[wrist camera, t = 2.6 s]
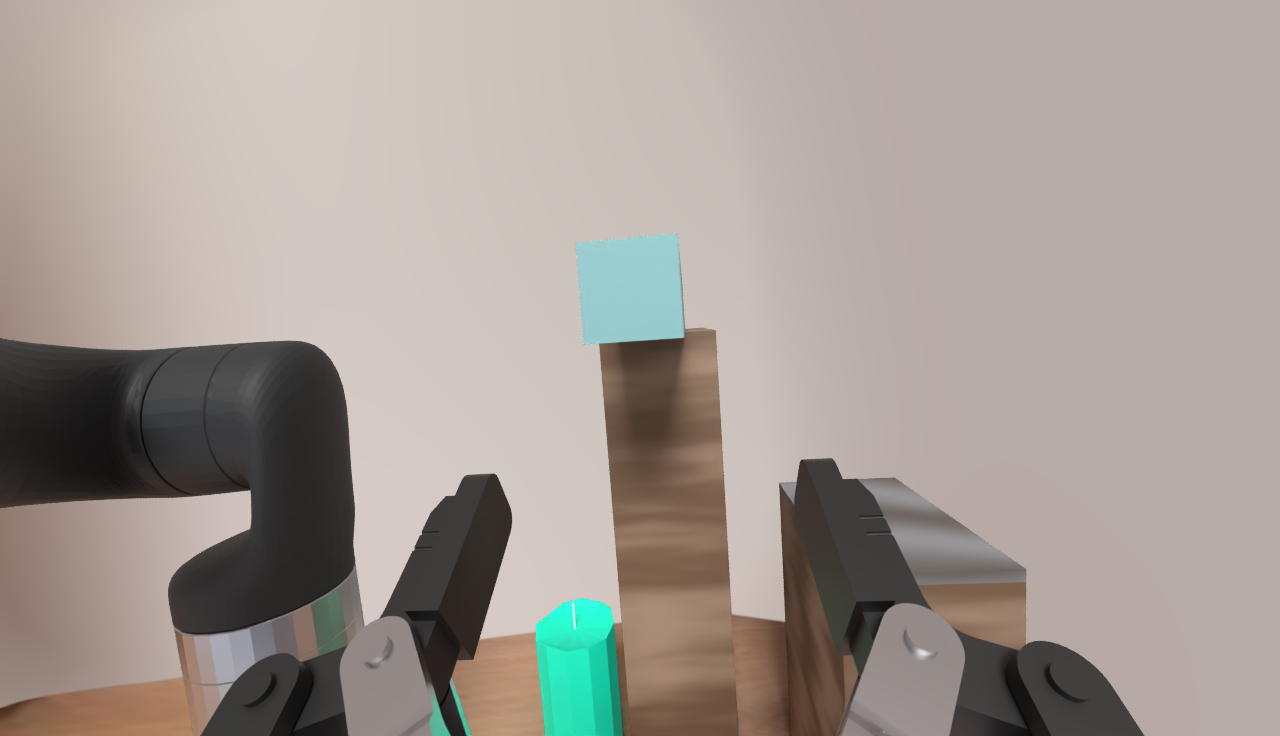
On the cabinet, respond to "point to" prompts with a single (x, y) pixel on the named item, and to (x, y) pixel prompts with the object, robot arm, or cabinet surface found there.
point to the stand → (671, 533)
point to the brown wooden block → (945, 573)
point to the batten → (631, 289)
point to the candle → (579, 670)
